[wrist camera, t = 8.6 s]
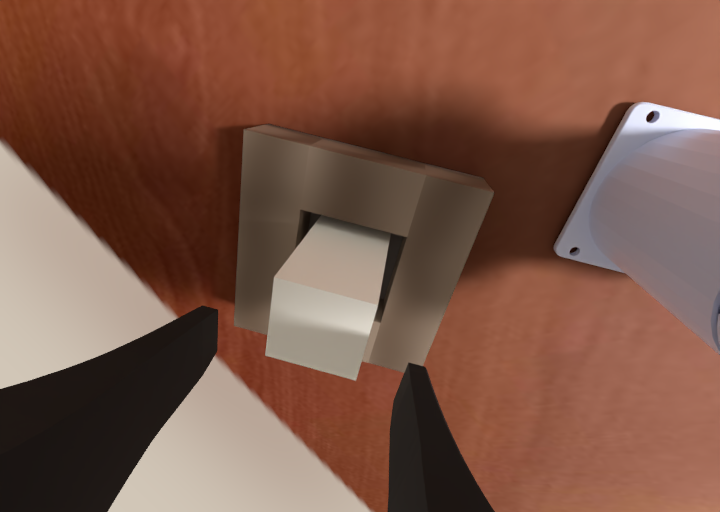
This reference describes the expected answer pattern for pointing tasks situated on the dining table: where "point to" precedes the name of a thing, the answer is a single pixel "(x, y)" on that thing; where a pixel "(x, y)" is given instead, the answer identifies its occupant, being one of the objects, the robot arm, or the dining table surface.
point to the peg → (328, 297)
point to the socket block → (363, 207)
